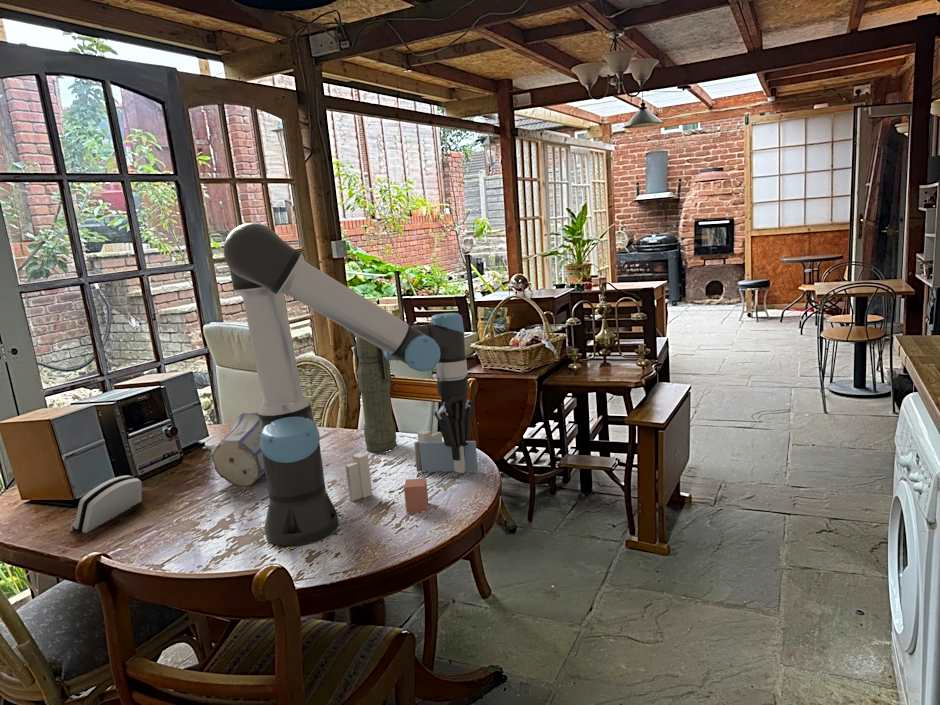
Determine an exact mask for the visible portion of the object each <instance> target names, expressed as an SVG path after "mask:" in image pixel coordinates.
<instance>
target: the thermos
mask: <svg viewBox="0 0 940 705" xmlns="http://www.w3.org/2000/svg"><path fill="white" fill-rule="evenodd" d="M353 354H354V361H355V363H354V364H355V369H356V375H357V380H358V382H357V383H358V388H359V392H360V394H361V399H362V407H363V408H362V410H363V418H364V424H363V434H364V442H365V444H366V451H367V452H368V453H371V454H381V453H380V452H385V453H387V452H386V451H389V450H392V449H394V448H395V447H396V446H397V447H398V445H397V444H398V443H397V432H396V423H395V421H394V419H393V410H392V403H391V402H392V401H391V394H390V391H391V387H392V386H391V379H392V374H391V366H390V365H391V364H390V360H387V359H386V358H385V356H384V352H383V350H382V349H380V348H379V347H377V346H375V345H374V344H372V343H370V342H368V341H367V340H365V339H363V338H362V337H360V336H358V335H356V338H355V345H354V347H353ZM397 447H396V448H397ZM394 450H395V449H394ZM392 451H393V450H392ZM389 452H390V451H389Z"/></svg>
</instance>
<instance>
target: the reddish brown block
mask: <svg viewBox="0 0 940 705" xmlns="http://www.w3.org/2000/svg"><path fill="white" fill-rule="evenodd" d="M403 491H404V500H405V501H404V502H405V509H406V510H405V511H406V514H410V513H411V512H414V513H423V512H422V511H427V512H428V509H429V508H428V507H429V503H428V502H429V495H428V485H427V478H426V477H423V478H412V479H409V478H408V479H405V482H404V486H403ZM427 508H428V509H427ZM411 514H412V513H411Z"/></svg>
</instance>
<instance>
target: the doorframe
mask: <svg viewBox="0 0 940 705" xmlns="http://www.w3.org/2000/svg"><path fill="white" fill-rule="evenodd" d="M442 441H443V436H442V433H441V431H436V432H434V433H432V431H430V430H427V429H423V430H420V431H418V432H417V442H420V443H421V442H442ZM420 452H421V447H420ZM352 462H353V463H350V464H347V465H345V471H346V480H347V488H348V495H349V497H348V498H349V501H351V502H354V501H357V500H360V499H365V498H367V497H370V496H372V495H373V489H372V480H371V479H372V478H371V473H370V472H371V471H370V463H369V455H368V454H366V453H364V452H359V453H357V454H354V455H352ZM421 462H422V457H421ZM422 471H423V467H422Z"/></svg>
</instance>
